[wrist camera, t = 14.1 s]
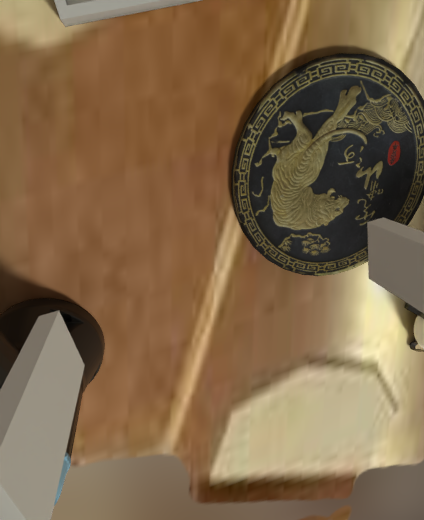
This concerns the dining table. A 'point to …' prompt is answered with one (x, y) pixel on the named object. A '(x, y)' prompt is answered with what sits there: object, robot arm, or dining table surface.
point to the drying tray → (107, 9)
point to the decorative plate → (329, 162)
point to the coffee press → (417, 328)
